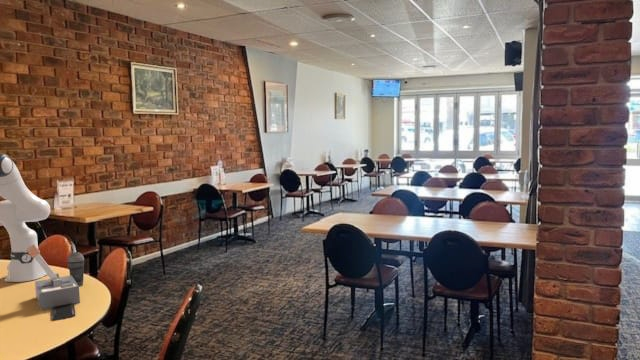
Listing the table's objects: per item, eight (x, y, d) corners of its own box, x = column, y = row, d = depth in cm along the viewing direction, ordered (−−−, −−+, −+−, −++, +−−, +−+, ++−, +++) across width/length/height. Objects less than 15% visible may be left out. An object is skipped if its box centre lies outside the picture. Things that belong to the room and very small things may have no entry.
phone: (73, 303, 192) (75, 314, 179) (74, 305, 192) (75, 317, 179) (51, 306, 188) (51, 319, 175) (52, 309, 188) (51, 321, 175)
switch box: (36, 297, 202) (34, 274, 201) (72, 290, 210) (71, 268, 209) (40, 310, 186) (38, 286, 185) (80, 302, 194) (78, 279, 193)
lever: (52, 282, 200) (26, 248, 194) (60, 277, 202) (34, 244, 195) (55, 286, 194) (27, 252, 187) (62, 282, 195) (35, 247, 189)
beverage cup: (79, 288, 213) (75, 244, 212) (65, 287, 215) (61, 244, 213) (89, 283, 221) (86, 241, 219) (76, 282, 222) (73, 241, 220)
